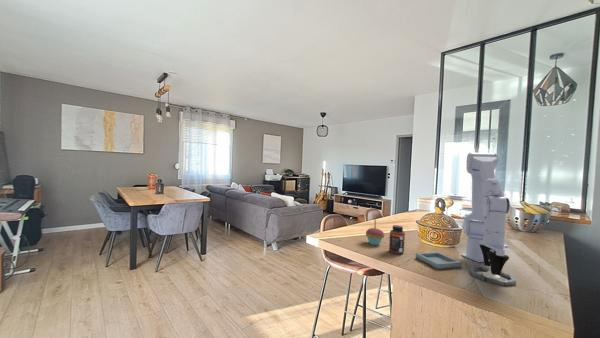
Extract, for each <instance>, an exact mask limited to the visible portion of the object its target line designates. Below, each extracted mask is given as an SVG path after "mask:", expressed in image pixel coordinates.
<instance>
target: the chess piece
mask: <svg viewBox="0 0 600 338" xmlns="http://www.w3.org/2000/svg"><path fill="white" fill-rule="evenodd" d="M490 251H492V252H493V253H494V250H493V249H492V250H490ZM489 261H490V260H489ZM488 268H489V271H483V272H482V276H485V277H487V278H492V279H496V280H501V275H494V274H492V273H491V268H490V267H488ZM501 281H502V280H501Z"/></svg>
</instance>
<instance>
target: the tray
mask: <svg viewBox="0 0 600 338" xmlns="http://www.w3.org/2000/svg"><path fill="white" fill-rule="evenodd" d="M415 259H416V260H418V261H421V262H423V263H424V264H426V265H428V266H430V267H431V266H432V268H433V267H434V268H433V269H435V268H436V269H435V270H437V269H440V270H447V269H446V268H451V269H458V268H460V267H461V268H462V266H463V265H462V263H463V262H462V261H460V260H458V259H455V258H453V257H451V256H448V255H446V254H444V253H442V252H439V251H433V252H432V251H431V252H430V251H429V252H416V253H415Z"/></svg>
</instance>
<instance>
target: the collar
mask: <svg viewBox="0 0 600 338" xmlns="http://www.w3.org/2000/svg"><path fill="white" fill-rule="evenodd" d="M489 268H490V267H489V266H484V265H483V266H482V265H481V266H480V265H476V266H470V267H469V272H471V273H470V275H471V277H475V278H477V279H478V280H481V281H483V282H484V283H485V282H486V283H489V284H493V285H498V286H503V287H508V286H516V285H517V280H516V279H515V277H514V276H513V275H512V274H511V273H507V272H505V271H504V270H502V271H501V274H500V275H499V276H500V277H501V276H502V277H504V278H506V280H496V279H492V278H487V277H485V276H483V274H480V273H478V272H479V271H483V272H488V271H489Z"/></svg>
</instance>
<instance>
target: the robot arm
mask: <svg viewBox="0 0 600 338" xmlns="http://www.w3.org/2000/svg"><path fill="white" fill-rule="evenodd" d="M498 165H499V155H498V153H496V152H469V153H467V155H466V173H468V174H470V175H471V212H470V213H469V214H467V215H465V216H464V218H463V224H462V231H463V234H464V235H466V249H465V250H466V253H460V256H463V257H465V258H467V259H470V260H472V261H474V262H477V263H484V267H489V268H491V273H492V274H494V275H499V276H501V275H500V274H501V271H503V268H504V266H505V264H506V263H507V261H509V259H510V256H509V255H508V254H507V255H506V254H505V252H506V251H505V249H509V247H510V246H509V245H508V244H505V239H506V237H505V236H506V221H507V220H506V219H507V214H509V212H510V209H511V203H510V202H511V201H510V198H509V197H508V196H507V195H506V194H504V191H503V188H502V185H501V182H500V181H499V180H498V179H496V175H495V170H496V168H497V167H498ZM492 249H493V250H494V253H493V252H492V251H490V250H492ZM489 260H490V261H489Z"/></svg>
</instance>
